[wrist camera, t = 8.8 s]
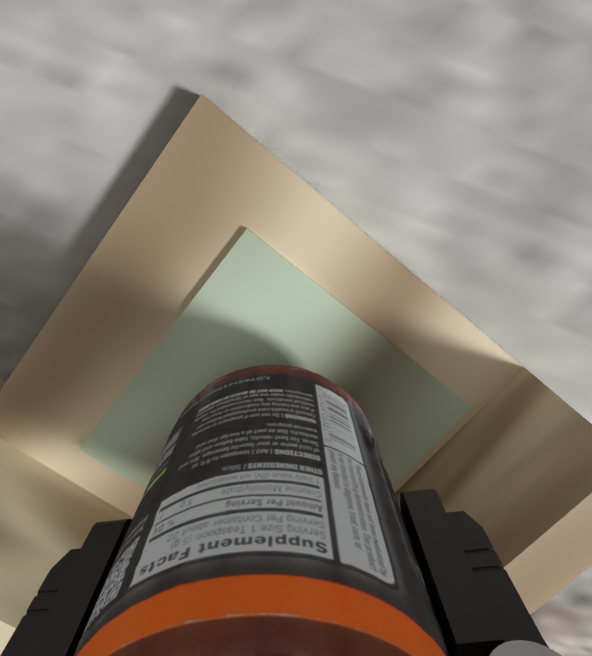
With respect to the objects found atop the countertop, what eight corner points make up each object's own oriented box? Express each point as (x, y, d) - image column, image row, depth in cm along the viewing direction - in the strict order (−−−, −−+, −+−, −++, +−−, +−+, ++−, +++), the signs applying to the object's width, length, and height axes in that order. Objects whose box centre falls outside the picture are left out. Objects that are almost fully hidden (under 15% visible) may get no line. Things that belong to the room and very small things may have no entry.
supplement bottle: (361, 536, 15) (541, 1414, 5) (172, 526, 15) (-113, 1432, 4) (388, 362, 13) (807, 1171, 3) (172, 347, 13) (-347, 1180, 2)
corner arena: (-32, 444, 17) (-189, 583, 11) (206, 98, 13) (150, 49, 8) (286, 630, 20) (287, 811, 14) (544, 385, 16) (676, 496, 11)
